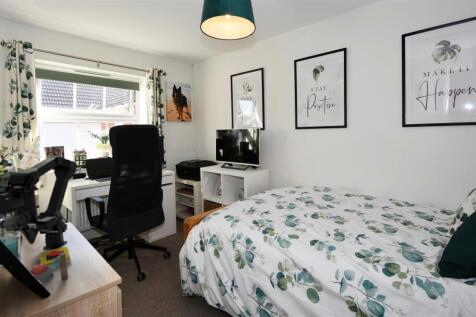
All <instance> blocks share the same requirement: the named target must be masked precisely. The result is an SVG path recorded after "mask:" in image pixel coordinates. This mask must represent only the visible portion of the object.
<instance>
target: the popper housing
mask: <svg viewBox="0 0 476 317" xmlns="http://www.w3.org/2000/svg"><path fill="white" fill-rule="evenodd" d="M30 272H31V273H32V274H33V272H32V270H31V271H30ZM54 276H55V275H54V271H53V269H52V267H50V266H46V271H45V272H44V273H42V274H41V275H34V277H35V278H36V279H37V280H39V281H40V282H41V283H42V284H43V285H44V284H45V283H47V282H48V281H49V280H51V279H52V278H53V277H54Z"/></svg>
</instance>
